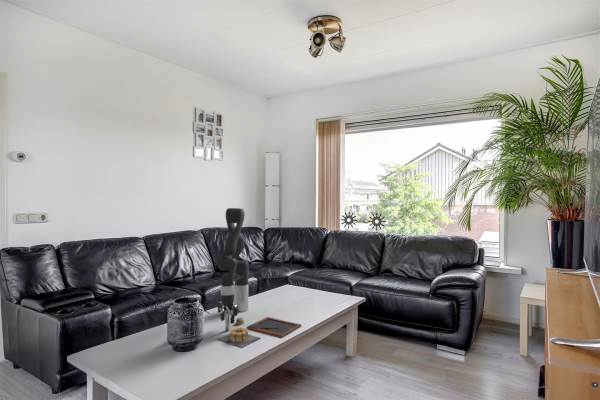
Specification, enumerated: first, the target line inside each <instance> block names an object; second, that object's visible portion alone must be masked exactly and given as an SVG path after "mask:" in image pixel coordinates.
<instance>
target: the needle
mask: <svg viewBox="0 0 600 400" xmlns="http://www.w3.org/2000/svg"><path fill="white" fill-rule="evenodd" d="M224 314H225V320H224V322H225V329H224V331H225V332H230V331H231V330H230V329H231V325H230V324H231V323H230V317H231V316H230V314H229V313H228V311H227V310H225V313H224Z"/></svg>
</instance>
